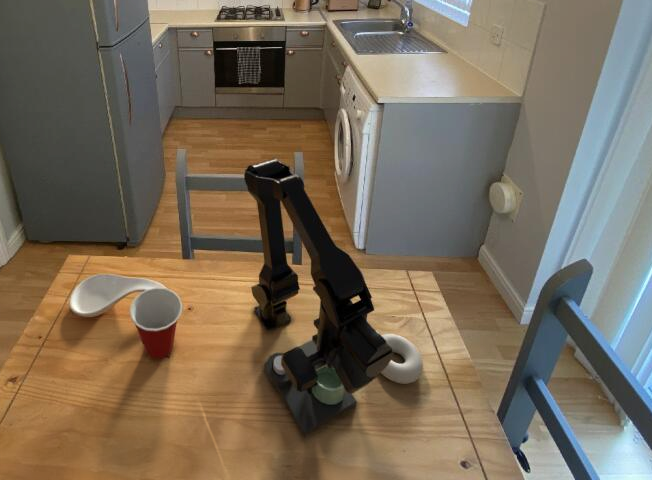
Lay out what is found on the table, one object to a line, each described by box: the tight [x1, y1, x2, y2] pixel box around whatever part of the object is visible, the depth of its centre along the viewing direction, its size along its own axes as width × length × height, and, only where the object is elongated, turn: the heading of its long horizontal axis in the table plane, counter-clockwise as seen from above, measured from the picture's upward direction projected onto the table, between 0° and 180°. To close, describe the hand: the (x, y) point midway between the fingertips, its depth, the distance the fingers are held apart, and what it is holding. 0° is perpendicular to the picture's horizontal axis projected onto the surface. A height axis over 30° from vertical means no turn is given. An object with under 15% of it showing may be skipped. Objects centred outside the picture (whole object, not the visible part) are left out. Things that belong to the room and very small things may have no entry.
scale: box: [264, 339, 358, 437], centre depth 82 cm, size 14×13×3 cm
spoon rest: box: [68, 273, 167, 318], centre depth 100 cm, size 24×12×7 cm, turn 89°
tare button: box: [273, 356, 286, 375], centre depth 84 cm, size 3×3×2 cm
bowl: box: [312, 365, 346, 405], centre depth 81 cm, size 7×7×4 cm
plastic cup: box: [129, 287, 183, 360], centre depth 89 cm, size 11×11×12 cm
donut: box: [380, 333, 424, 385], centre depth 86 cm, size 10×4×10 cm
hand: (328, 381), depth 81 cm, fingers open, 9 cm apart
